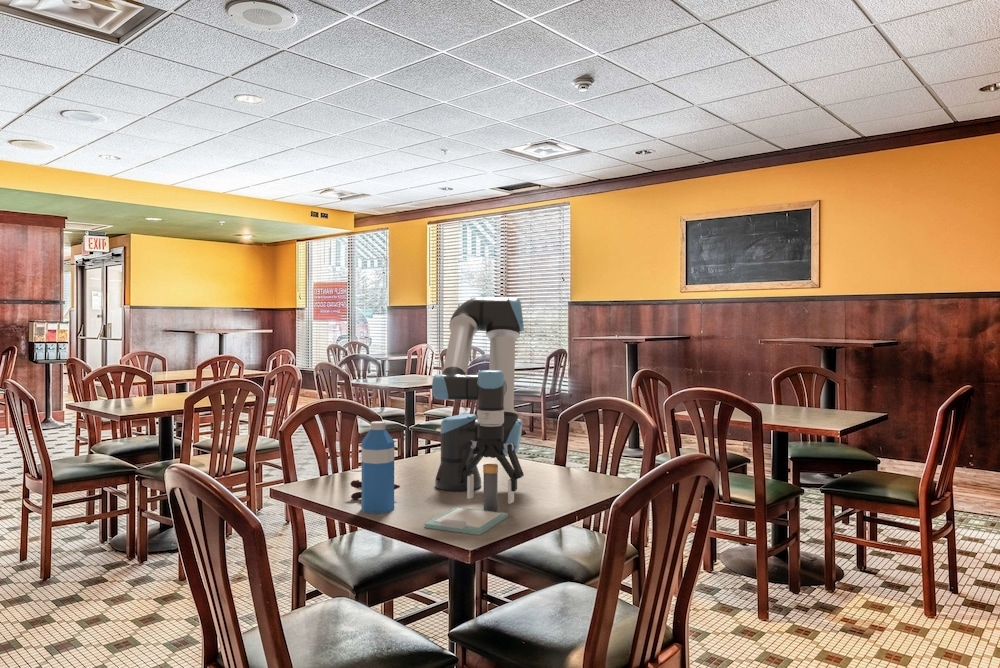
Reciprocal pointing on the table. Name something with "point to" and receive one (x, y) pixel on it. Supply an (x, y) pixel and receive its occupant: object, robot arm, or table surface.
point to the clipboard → (466, 520)
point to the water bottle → (377, 470)
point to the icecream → (358, 485)
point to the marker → (490, 487)
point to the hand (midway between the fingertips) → (490, 500)
